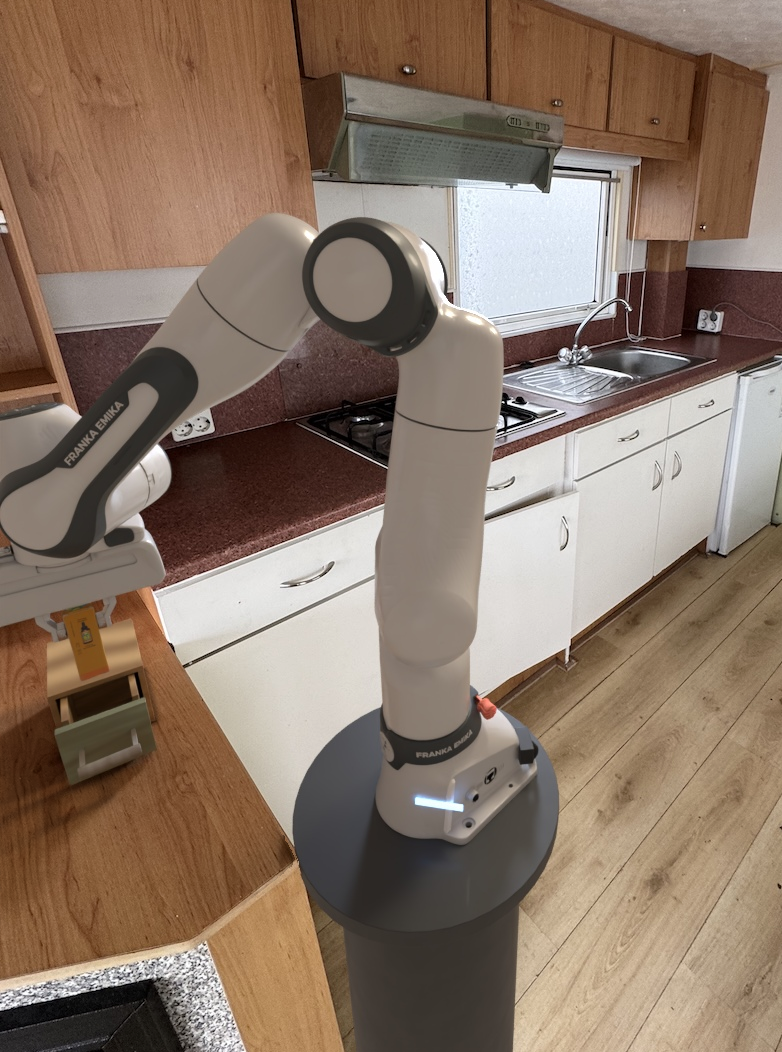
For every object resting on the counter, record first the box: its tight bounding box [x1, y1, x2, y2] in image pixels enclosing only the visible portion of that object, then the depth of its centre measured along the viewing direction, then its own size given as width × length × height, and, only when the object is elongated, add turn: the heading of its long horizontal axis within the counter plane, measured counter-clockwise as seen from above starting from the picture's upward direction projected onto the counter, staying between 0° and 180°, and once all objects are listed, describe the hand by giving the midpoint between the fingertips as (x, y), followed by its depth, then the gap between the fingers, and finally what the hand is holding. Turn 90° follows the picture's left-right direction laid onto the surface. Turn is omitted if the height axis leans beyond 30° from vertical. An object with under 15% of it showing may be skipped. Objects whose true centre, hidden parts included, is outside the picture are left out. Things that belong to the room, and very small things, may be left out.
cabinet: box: [46, 618, 156, 729], centre depth 91 cm, size 15×12×11 cm
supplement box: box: [61, 602, 110, 681], centre depth 75 cm, size 3×3×10 cm
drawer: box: [53, 673, 158, 786], centre depth 83 cm, size 18×10×9 cm, turn 37°
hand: (83, 632), depth 74 cm, fingers closed on supplement box, 3 cm apart
